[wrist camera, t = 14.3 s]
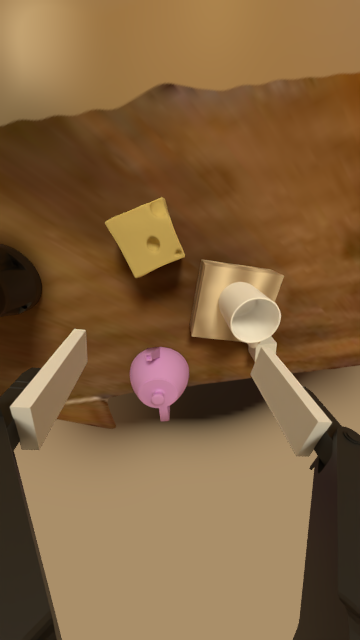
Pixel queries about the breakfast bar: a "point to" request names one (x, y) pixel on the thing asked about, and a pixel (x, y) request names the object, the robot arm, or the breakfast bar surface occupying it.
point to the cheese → (146, 237)
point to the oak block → (212, 284)
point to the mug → (249, 313)
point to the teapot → (159, 378)
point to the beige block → (265, 343)
